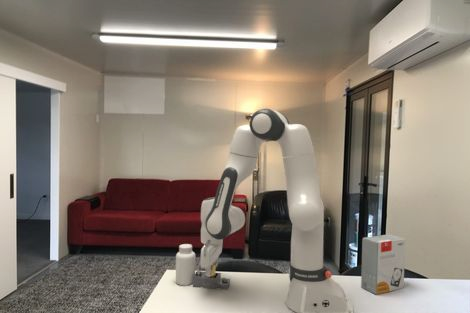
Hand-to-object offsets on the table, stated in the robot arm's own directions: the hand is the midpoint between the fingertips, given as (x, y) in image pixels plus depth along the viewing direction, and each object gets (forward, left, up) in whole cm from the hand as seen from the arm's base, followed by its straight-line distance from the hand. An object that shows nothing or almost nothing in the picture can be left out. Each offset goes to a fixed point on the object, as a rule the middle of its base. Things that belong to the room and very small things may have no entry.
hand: (211, 271), depth 126 cm
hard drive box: (-67, -11, -6) cm, 68 cm away
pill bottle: (+12, -1, -6) cm, 13 cm away
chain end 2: (-2, 0, -6) cm, 6 cm away
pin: (0, 0, -6) cm, 6 cm away
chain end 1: (+2, 0, -6) cm, 6 cm away
